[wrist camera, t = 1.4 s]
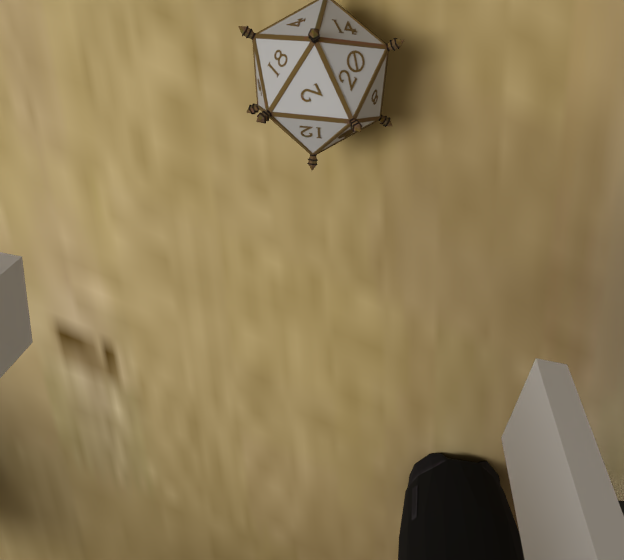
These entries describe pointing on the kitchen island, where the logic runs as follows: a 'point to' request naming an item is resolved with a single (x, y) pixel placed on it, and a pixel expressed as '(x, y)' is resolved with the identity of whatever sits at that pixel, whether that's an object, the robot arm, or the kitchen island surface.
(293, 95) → the game die
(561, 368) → the robot arm
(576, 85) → the kitchen island surface
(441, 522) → the portable speaker
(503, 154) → the kitchen island surface
